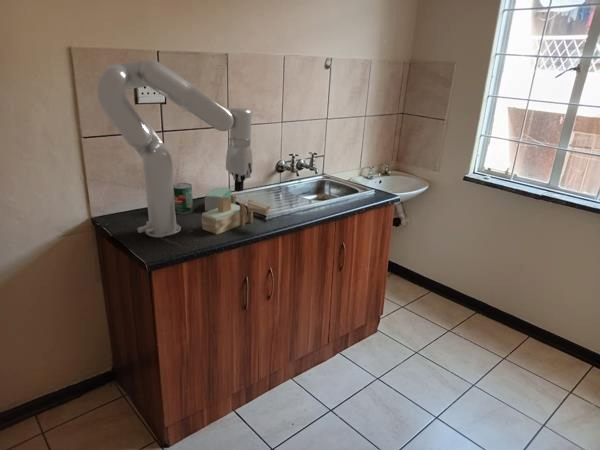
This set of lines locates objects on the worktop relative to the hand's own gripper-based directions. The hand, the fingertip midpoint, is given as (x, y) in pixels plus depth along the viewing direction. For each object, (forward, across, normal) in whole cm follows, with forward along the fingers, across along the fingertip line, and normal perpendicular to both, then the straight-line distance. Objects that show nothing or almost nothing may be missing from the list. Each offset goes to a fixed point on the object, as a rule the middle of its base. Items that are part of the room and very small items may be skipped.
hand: (238, 190), depth 171 cm
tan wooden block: (+6, +10, +1) cm, 11 cm away
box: (+14, -20, +8) cm, 26 cm away
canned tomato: (+15, -28, -4) cm, 32 cm away
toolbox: (+14, -1, -6) cm, 15 cm away
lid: (+8, -1, -6) cm, 10 cm away
